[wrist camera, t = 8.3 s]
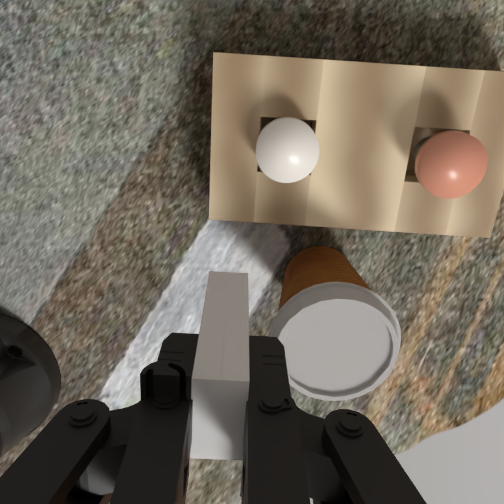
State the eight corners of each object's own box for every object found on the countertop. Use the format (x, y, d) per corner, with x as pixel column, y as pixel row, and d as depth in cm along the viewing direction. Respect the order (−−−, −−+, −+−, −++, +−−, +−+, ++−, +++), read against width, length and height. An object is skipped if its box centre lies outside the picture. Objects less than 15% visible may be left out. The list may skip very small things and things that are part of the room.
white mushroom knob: (254, 165, 38) (253, 180, 33) (258, 108, 36) (257, 116, 31) (309, 169, 38) (315, 184, 33) (315, 112, 36) (323, 121, 31)
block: (214, 200, 41) (208, 219, 36) (219, 52, 36) (213, 52, 32) (464, 216, 41) (490, 237, 36) (501, 71, 36) (536, 73, 32)
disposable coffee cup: (278, 220, 42) (284, 281, 31) (382, 239, 42) (424, 305, 31) (258, 311, 45) (257, 394, 34) (353, 328, 46) (382, 415, 35)
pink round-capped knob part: (395, 178, 36) (414, 196, 32) (406, 120, 35) (427, 130, 30) (451, 182, 36) (478, 200, 32) (465, 124, 35) (495, 135, 30)
